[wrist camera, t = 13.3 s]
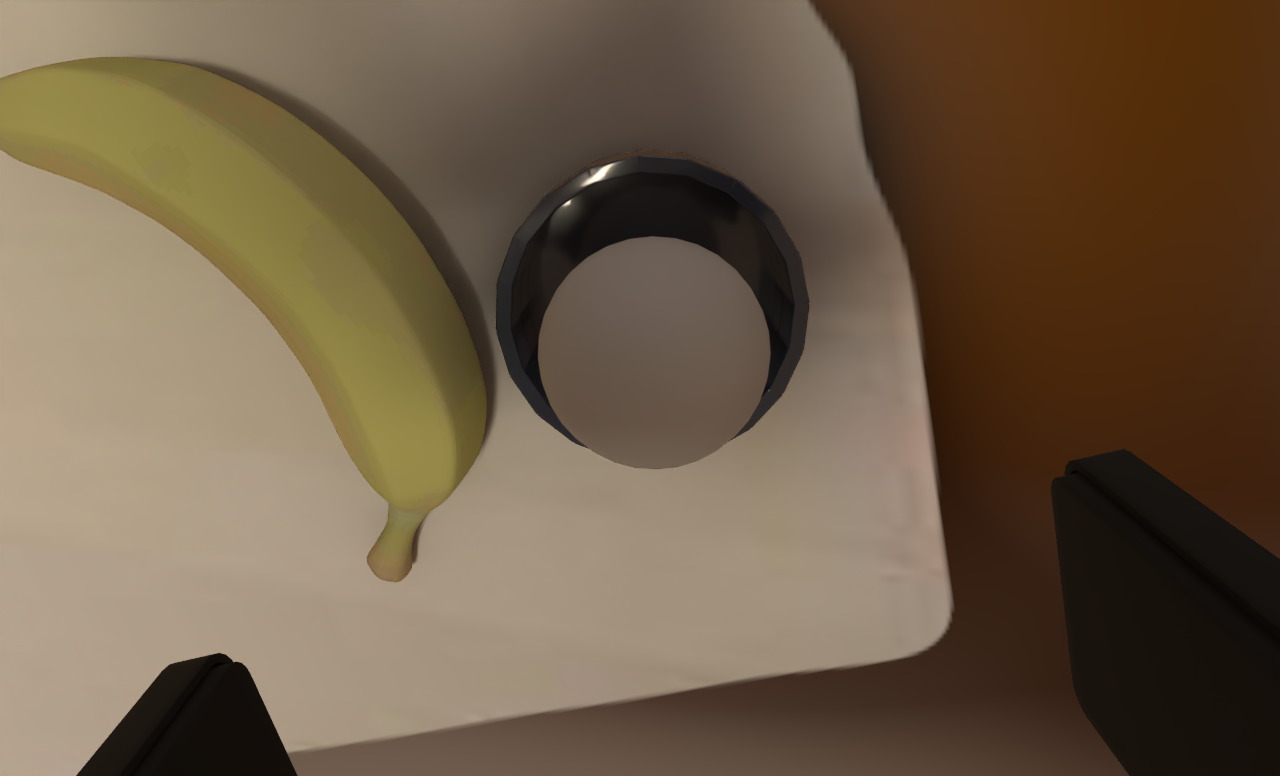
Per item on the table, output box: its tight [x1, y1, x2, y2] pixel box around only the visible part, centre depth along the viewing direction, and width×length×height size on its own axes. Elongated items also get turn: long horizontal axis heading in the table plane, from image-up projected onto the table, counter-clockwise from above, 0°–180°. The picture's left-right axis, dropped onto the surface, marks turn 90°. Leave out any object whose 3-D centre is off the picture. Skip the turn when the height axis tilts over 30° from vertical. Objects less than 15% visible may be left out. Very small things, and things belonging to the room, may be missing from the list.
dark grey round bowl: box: [496, 149, 809, 449], centre depth 29 cm, size 10×10×4 cm
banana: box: [0, 57, 487, 582], centre depth 30 cm, size 14×6×20 cm
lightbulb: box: [538, 236, 771, 469], centre depth 26 cm, size 6×6×11 cm
